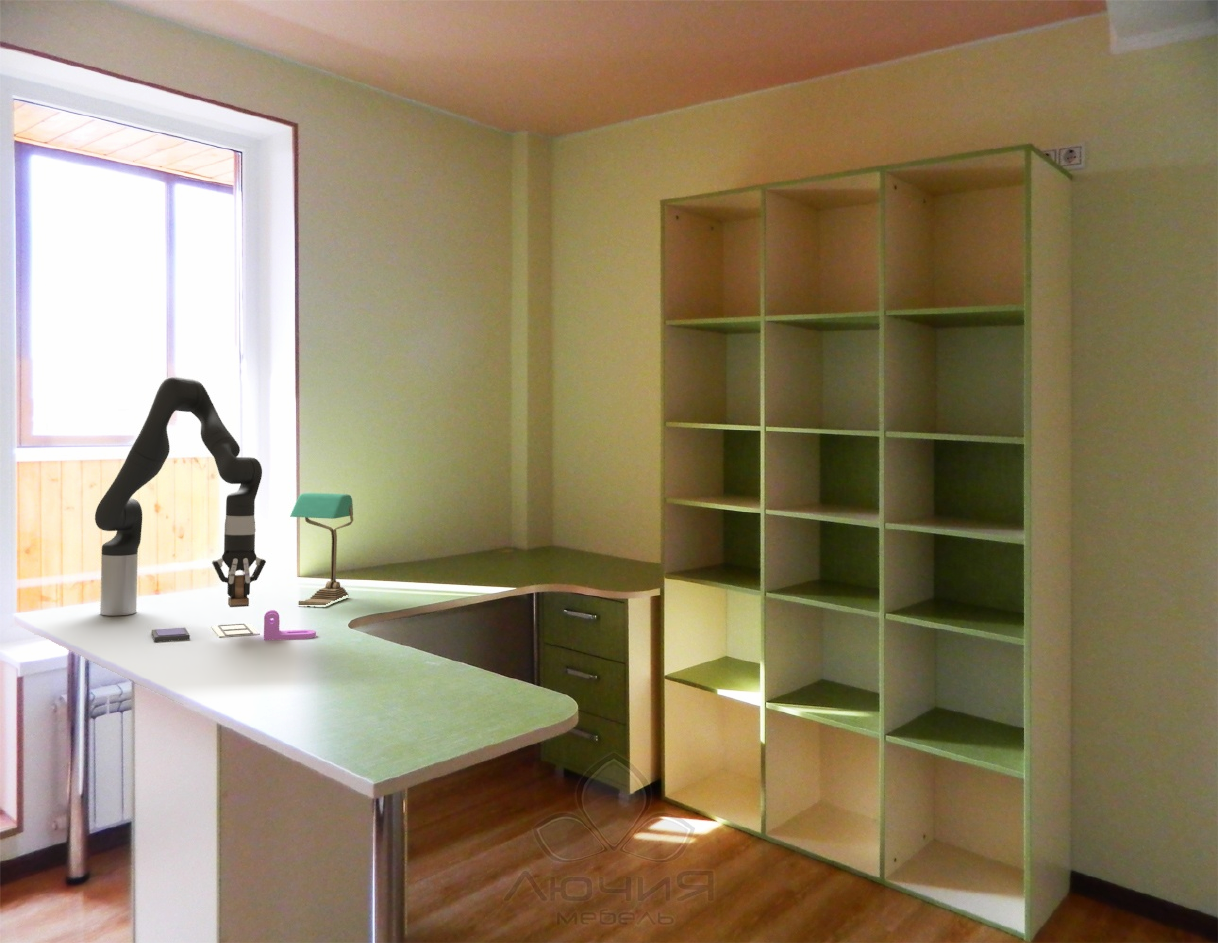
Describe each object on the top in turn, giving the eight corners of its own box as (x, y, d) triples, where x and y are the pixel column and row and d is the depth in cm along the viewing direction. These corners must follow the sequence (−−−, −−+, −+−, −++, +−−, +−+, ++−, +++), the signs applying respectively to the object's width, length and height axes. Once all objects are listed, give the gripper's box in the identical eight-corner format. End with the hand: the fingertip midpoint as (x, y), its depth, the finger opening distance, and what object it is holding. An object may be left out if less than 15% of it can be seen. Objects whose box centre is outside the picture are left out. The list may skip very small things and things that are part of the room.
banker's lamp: (359, 598, 303) (362, 493, 303) (334, 609, 283) (337, 496, 282) (313, 596, 305) (316, 491, 304) (285, 606, 284) (288, 494, 283)
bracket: (263, 640, 237) (264, 614, 236) (263, 636, 242) (264, 610, 242) (316, 638, 241) (317, 612, 241) (315, 634, 246) (316, 608, 246)
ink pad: (151, 634, 239) (151, 628, 239) (185, 632, 243) (185, 626, 243) (154, 641, 230) (155, 636, 230) (189, 639, 234) (189, 634, 234)
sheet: (211, 627, 250) (211, 625, 250) (250, 624, 255) (250, 623, 255) (219, 637, 238) (219, 635, 238) (259, 634, 243) (259, 632, 243)
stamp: (228, 604, 244) (228, 574, 244) (246, 603, 246) (246, 573, 246) (230, 607, 240) (231, 576, 240) (248, 606, 242) (249, 576, 242)
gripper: (264, 530, 250) (263, 593, 250) (209, 531, 242) (208, 596, 243) (270, 533, 243) (268, 598, 244) (213, 534, 236) (212, 601, 236)
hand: (238, 596), depth 243 cm, fingers closed on stamp, 2 cm apart
